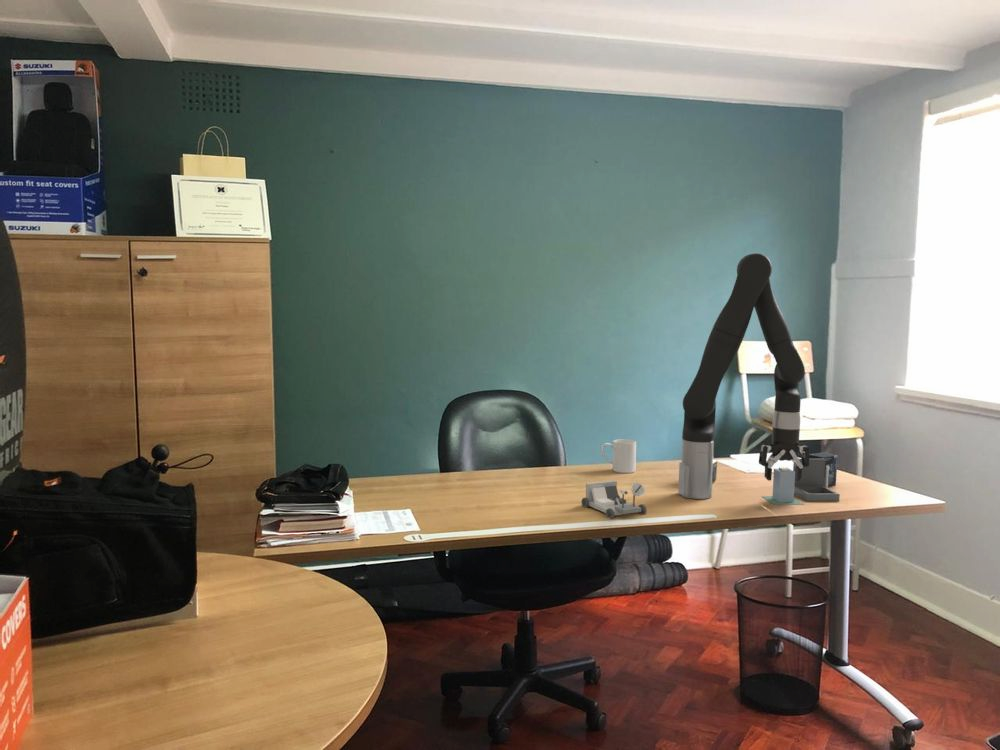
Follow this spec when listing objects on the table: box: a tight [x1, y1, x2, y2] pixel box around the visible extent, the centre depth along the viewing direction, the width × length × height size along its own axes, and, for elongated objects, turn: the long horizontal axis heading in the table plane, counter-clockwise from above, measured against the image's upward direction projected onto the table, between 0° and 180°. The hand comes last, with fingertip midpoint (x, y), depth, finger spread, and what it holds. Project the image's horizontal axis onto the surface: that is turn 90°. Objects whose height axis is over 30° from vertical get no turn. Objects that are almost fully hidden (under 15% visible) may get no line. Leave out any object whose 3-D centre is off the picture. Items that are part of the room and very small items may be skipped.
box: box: [809, 451, 838, 488], centre depth 239 cm, size 8×6×11 cm
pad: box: [761, 495, 805, 506], centre depth 220 cm, size 9×9×1 cm
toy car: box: [581, 479, 647, 520], centre depth 207 cm, size 18×10×12 cm
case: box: [792, 458, 841, 502], centre depth 224 cm, size 11×11×11 cm
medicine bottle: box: [712, 447, 718, 485], centre depth 244 cm, size 7×7×12 cm
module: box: [772, 466, 795, 502], centre depth 219 cm, size 4×4×10 cm
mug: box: [601, 438, 637, 474], centre depth 258 cm, size 12×8×10 cm, turn 97°
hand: (782, 480), depth 220 cm, fingers open, 8 cm apart
